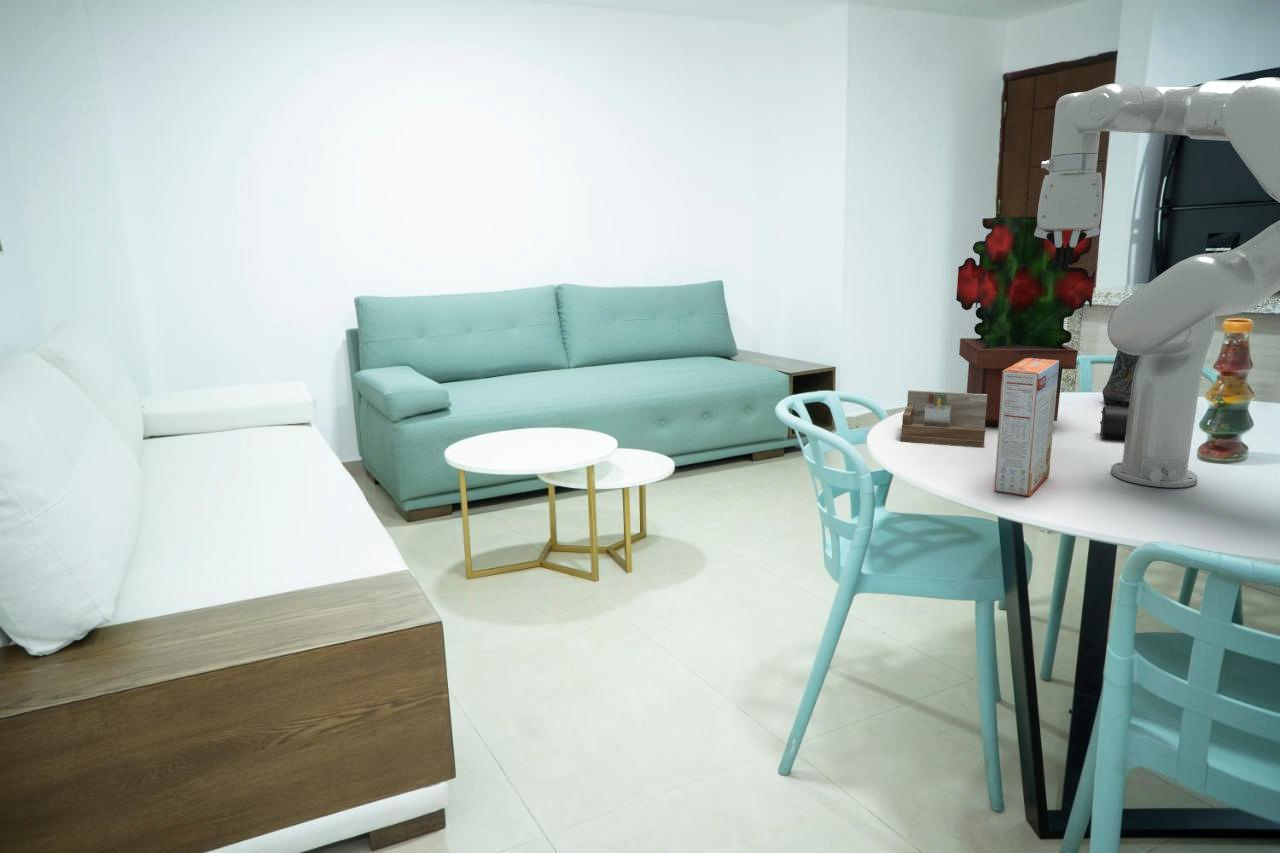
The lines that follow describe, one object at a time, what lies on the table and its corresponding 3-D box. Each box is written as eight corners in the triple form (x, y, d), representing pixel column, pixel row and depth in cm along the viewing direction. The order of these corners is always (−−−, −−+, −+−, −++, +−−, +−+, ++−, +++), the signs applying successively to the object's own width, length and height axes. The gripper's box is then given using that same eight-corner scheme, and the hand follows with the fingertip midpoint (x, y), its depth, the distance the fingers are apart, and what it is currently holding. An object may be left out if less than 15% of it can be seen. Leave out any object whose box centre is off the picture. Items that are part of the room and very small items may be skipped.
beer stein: (1160, 399, 196) (1174, 298, 190) (1203, 417, 178) (1219, 306, 172) (1090, 399, 199) (1101, 299, 193) (1124, 416, 180) (1138, 307, 174)
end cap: (1101, 441, 160) (1105, 409, 158) (1097, 433, 166) (1100, 402, 165) (1159, 445, 156) (1163, 412, 154) (1152, 437, 162) (1156, 405, 161)
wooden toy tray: (983, 447, 157) (987, 406, 155) (900, 441, 164) (902, 402, 162) (984, 431, 170) (987, 393, 168) (906, 426, 176) (908, 389, 174)
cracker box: (1013, 471, 142) (1024, 356, 137) (1050, 477, 138) (1062, 359, 133) (990, 491, 131) (1000, 368, 126) (1029, 498, 127) (1041, 371, 122)
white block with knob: (948, 433, 164) (951, 403, 162) (923, 431, 166) (925, 401, 164) (949, 428, 168) (952, 398, 167) (925, 426, 170) (927, 397, 169)
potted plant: (1077, 434, 166) (1101, 214, 155) (966, 431, 170) (982, 217, 160) (1046, 411, 187) (1066, 216, 176) (948, 409, 191) (961, 219, 181)
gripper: (1028, 167, 142) (1019, 270, 146) (1123, 162, 136) (1111, 269, 140) (1026, 170, 148) (1017, 268, 153) (1117, 165, 143) (1105, 268, 147)
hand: (1062, 268), depth 147 cm, fingers closed
